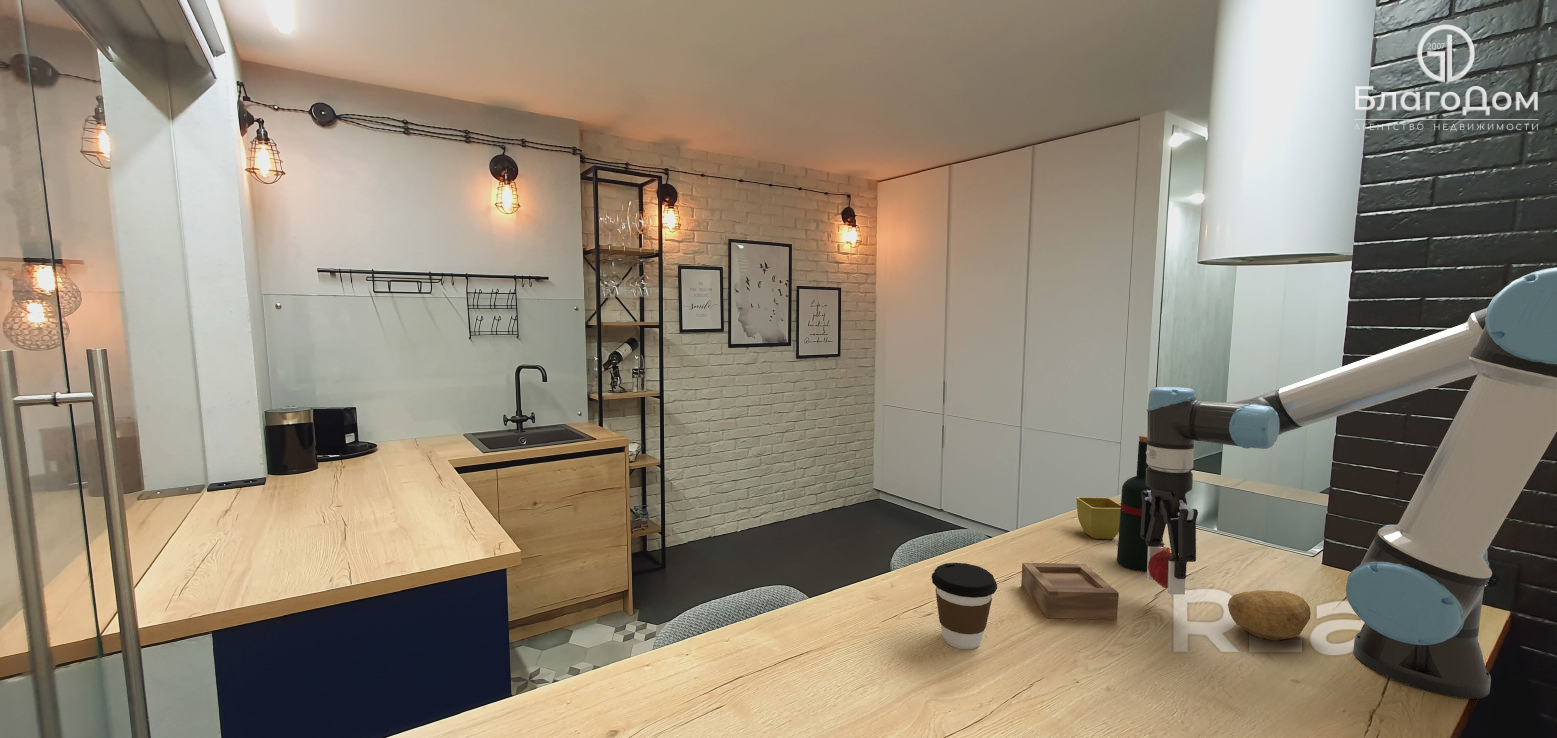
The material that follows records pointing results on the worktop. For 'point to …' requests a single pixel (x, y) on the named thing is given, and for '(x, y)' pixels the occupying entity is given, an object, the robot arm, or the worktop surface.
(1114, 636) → the worktop surface
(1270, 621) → the potato
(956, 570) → the coffee cup
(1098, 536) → the flower pot
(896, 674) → the worktop surface
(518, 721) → the worktop surface
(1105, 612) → the walnut tray
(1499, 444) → the robot arm
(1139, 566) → the wine bottle
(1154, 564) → the pomegranate
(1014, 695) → the worktop surface
